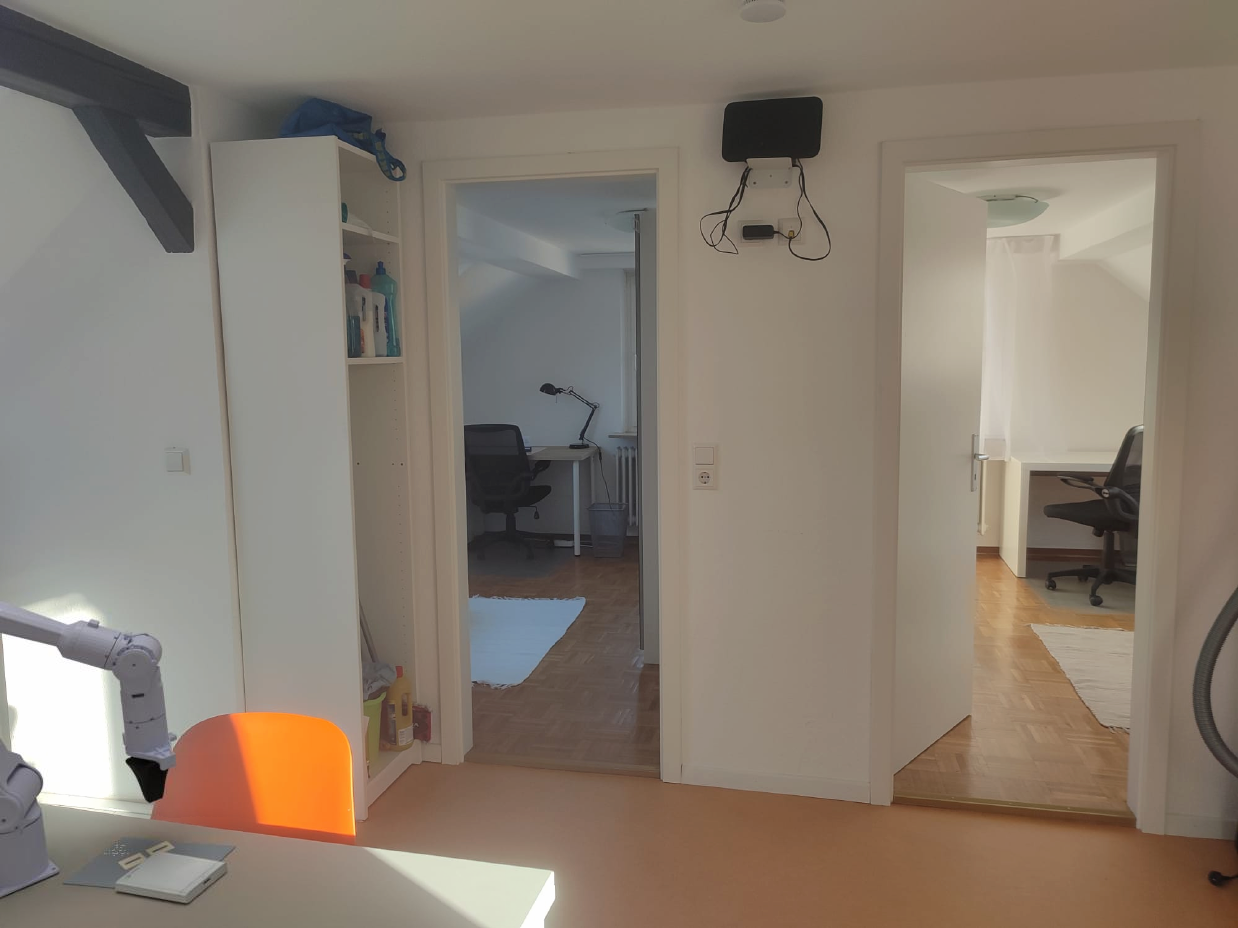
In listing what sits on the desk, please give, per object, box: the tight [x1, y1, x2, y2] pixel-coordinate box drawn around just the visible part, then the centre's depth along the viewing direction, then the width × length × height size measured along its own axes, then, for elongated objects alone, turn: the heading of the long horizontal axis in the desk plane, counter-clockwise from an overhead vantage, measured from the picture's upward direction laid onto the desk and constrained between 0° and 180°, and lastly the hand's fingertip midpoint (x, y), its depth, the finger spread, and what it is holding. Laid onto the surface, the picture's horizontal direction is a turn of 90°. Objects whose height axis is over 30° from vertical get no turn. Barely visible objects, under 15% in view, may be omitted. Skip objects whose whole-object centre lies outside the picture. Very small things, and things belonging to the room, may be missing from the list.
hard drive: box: [114, 851, 228, 904], centre depth 128 cm, size 2×8×12 cm
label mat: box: [62, 837, 237, 889], centre depth 133 cm, size 20×12×1 cm, turn 80°
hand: (154, 799), depth 136 cm, fingers closed
